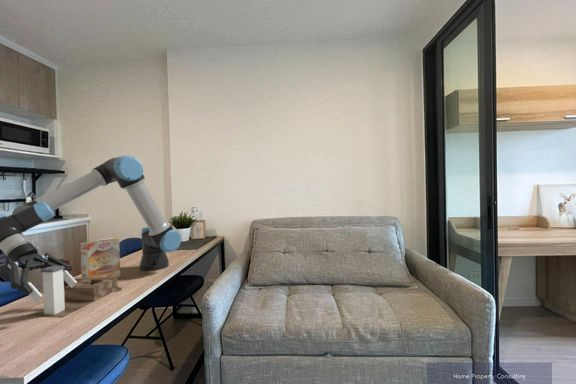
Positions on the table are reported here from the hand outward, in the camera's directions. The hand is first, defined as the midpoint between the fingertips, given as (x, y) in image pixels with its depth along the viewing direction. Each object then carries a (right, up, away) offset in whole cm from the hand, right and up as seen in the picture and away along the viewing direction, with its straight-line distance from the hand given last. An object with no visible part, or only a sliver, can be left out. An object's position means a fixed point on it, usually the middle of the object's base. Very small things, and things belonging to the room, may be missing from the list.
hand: (58, 291), depth 103 cm
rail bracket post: (-2, -7, +1) cm, 8 cm away
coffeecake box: (-10, -8, +40) cm, 42 cm away
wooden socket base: (0, -8, +11) cm, 14 cm away
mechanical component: (-24, -9, +31) cm, 41 cm away
